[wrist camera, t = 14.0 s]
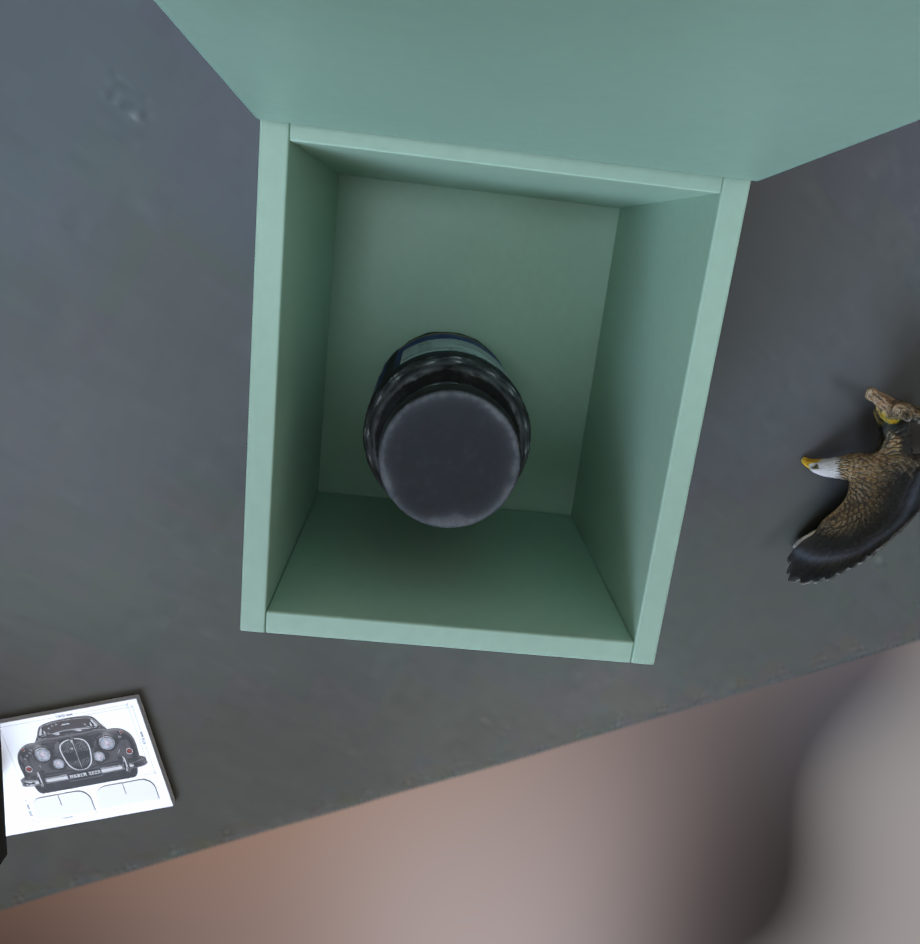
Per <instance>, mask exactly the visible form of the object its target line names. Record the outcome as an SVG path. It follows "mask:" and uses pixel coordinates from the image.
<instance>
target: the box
mask: <svg viewBox="0 0 920 944" xmlns="http://www.w3.org/2000/svg"><path fill="white" fill-rule="evenodd" d="M750 184H751V180H743V179H735V178H727V177H719V176H711V175H703V174H695V173H687V172H679V171H671V170H663V169H655V168H647V167H639V166H631V165H623V164H615V163H607V162H599V161H591V160H583V159H575V158H567V157H559V156H551V155H542V154H534V153H526V152H518V151H510V150H502V149H494V148H486V147H478V146H470V145H462V144H454V143H446V142H438V141H430V140H422V139H414V138H406V137H398V136H390V135H382V134H374V133H366V132H358V131H350V130H342V129H334V128H326V127H318V126H310V125H302V124H294V123H286V122H278V121H270V120H262V119H260V140H259V166H258V191H257V216H256V241H255V267H254V292H253V317H252V342H251V368H250V393H249V418H248V443H247V469H246V494H245V519H244V544H243V570H242V595H241V620H240V629H241V630H242V631H252V632H265V630H266V632H267V633H278V634H291V635H303V636H315V637H327V638H339V639H351V640H363V641H375V642H387V643H399V644H411V645H423V646H435V647H447V648H460V649H472V650H484V651H496V652H508V653H520V654H532V655H544V656H556V657H568V658H580V659H592V660H604V661H616V662H630V661H631V662H632V663H640V664H654V661H655V656H656V651H657V646H658V641H659V636H660V631H661V626H662V621H663V616H664V611H665V606H666V601H667V596H668V591H669V586H670V581H671V576H672V571H673V566H674V561H675V557H676V552H677V547H678V542H679V537H680V532H681V527H682V522H683V517H684V512H685V507H686V502H687V497H688V492H689V487H690V482H691V477H692V472H693V467H694V462H695V457H696V452H697V447H698V442H699V437H700V432H701V427H702V422H703V417H704V412H705V407H706V402H707V397H708V392H709V387H710V383H711V378H712V373H713V368H714V363H715V358H716V353H717V348H718V343H719V338H720V333H721V328H722V323H723V318H724V313H725V308H726V303H727V298H728V293H729V288H730V283H731V278H732V273H733V268H734V263H735V258H736V253H737V248H738V243H739V238H740V233H741V228H742V223H743V218H744V213H745V209H746V204H747V199H748V194H749V189H750ZM430 332H453V333H460V334H463V335H466V336H468V337H471V338H473V339H476V340H478V341H479V342H480V343H482V344H483V345H484V346H485V347H487V348H488V349H489V350H490V351H491V352H492V353H493V354H494V355H495V356H496V358H497V359H498V360H499V362H500V363H501V365H502V366H503V368H504V370H505V371H506V373H507V374H508V376H509V378H510V379H511V381H512V383H513V384H514V386H515V387H516V389H517V390H518V392H519V393H520V395H521V398H522V401H523V402H524V404H525V407H526V410H527V412H528V414H529V420H530V426H531V441H530V451H529V454H528V458H527V461H526V464H525V465H524V469H523V471H522V473H521V475H520V476H519V478H518V480H517V483H516V485H515V487H514V489H513V491H512V493H511V495H510V496H509V497H508V498H507V499H506V501H505V503H504V504H503V505H502V506H501V507H500V508H499V509H498V510H497V511H495V512H494V513H492V514H491V515H490V516H488V517H487V518H485V519H483V520H481V521H479V522H477V523H474V524H471V525H468V526H463V527H455V528H442V527H436V526H431V525H427V524H424V523H421V522H419V521H417V520H415V519H413V518H412V517H410V516H408V515H407V514H405V513H404V512H403V511H402V510H401V509H400V508H398V506H397V505H396V504H395V503H394V502H393V500H392V499H391V498H390V496H389V495H388V493H387V492H386V491H385V490H384V489H383V488H382V487H381V485H380V484H379V483H378V482H377V480H376V478H375V477H374V475H373V473H372V471H371V469H370V466H369V464H368V463H367V459H366V455H365V450H364V446H363V427H364V421H365V415H366V412H367V409H368V405H369V403H370V400H371V397H372V395H373V392H374V389H375V386H376V383H377V381H378V378H379V375H380V373H381V371H382V369H383V367H384V365H385V363H386V362H387V360H388V359H389V358H390V357H391V355H392V354H393V353H394V352H395V351H396V350H397V349H399V348H401V347H402V346H403V345H405V344H406V343H407V342H408V341H410V340H412V339H414V338H416V337H418V336H421V335H424V334H426V333H430Z"/></svg>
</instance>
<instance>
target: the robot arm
mask: <svg viewBox="0 0 920 944" xmlns="http://www.w3.org/2000/svg"><path fill="white" fill-rule="evenodd" d="M6 855H7V844H6V826H5V808H4V789H3V771H2V753H1V734H0V864H1V863H2V861H3V860H4V858H5V857H6Z"/></svg>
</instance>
